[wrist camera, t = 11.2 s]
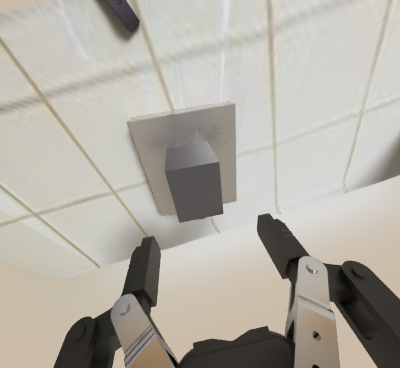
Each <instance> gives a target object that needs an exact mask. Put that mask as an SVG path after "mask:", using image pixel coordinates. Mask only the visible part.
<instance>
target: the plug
mask: <svg viewBox="0 0 400 368" xmlns="http://www.w3.org/2000/svg"><path fill="white" fill-rule="evenodd" d="M165 175H166V178H167V182H168V185H169V188H170V192H171V195H172V199H173V202H174V205H175V209H176V212H177V216H178V219H179V222H185V221H190V220H195V219H203V218H205V217H210V216H215V215H220V214H223V203H222V190H221V176H220V163H219V160H218V158H217V157H216V155H215V153H214V152H213V150H212V148H211V147H210V145H209V143H208V142H203V143H197V144H192V145H186V146H181V147H175V148H170V149H167V154H166V163H165Z"/></svg>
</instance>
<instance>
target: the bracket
mask: <svg viewBox="0 0 400 368" xmlns="http://www.w3.org/2000/svg"><path fill="white" fill-rule="evenodd" d="M107 1H108V3H109V4H110V5H111V7H112V8H113V10H114V11H115V12H116V13H117V15H118V16H119V17H120V19H121V20H122V21H123V23H124V24H125V25H126V27H127V28H128V29H129V30H130V32H131V31H132V30H133V29H134V27H135V26H136V25H137V24H138V23H139V19H138V18H137V16H136V15H135V13H134V12H133V10H132V9H131V7H130V6H129V4H128V3H127V1H126V0H107Z"/></svg>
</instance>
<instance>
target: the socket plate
mask: <svg viewBox="0 0 400 368" xmlns="http://www.w3.org/2000/svg"><path fill="white" fill-rule="evenodd" d="M127 125H128V127H129V130H130V133H131V135H132V138H133V141H134V143H135V146H136V149H137V151H138V154H139V157H140V160H141V162H142V165H143V168H144V170H145V173H146V176H147V178H148V181H149V184H150V186H151V189H152V192H153V195H154V197H155V200H156V203H157V205H158V208H159V211H160V213H161V216H165V215H170V214H175V213H177V212H176V209H175V205H174V202H173V199H172V195H171V192H170V188H169V185H168V182H167V178H166V175H165V163H166V154H167V149H170V148H175V147H181V146H186V145H192V144H197V143H203V142H208V143H209V145H210V147H211V148H212V150H213V152H214V153H215V155H216V157H217V158H218V160H219V163H220V176H221V190H222V203H223V204H224V203H229V202H234V201H236V131H235V104H234V103H231V102H228V101H227V102H221V103H215V104H209V105H203V106H197V107H192V108H186V109H180V110H174V111H168V112H162V113H156V114H150V115H145V116H139V117H133V118H131V119H130V120H129V121H128V122H127Z"/></svg>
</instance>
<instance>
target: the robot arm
mask: <svg viewBox="0 0 400 368" xmlns="http://www.w3.org/2000/svg"><path fill="white" fill-rule="evenodd" d="M257 232H258V235H259V237H260V239H261V241H262V243H263V244H264V246H265V248H266V250H267V252H268V253H269V255H270V257H271V259H272V261H273V262H274V264H275V266H276V268H277V270H278V272H279V273H280V275H281V277H282V279H286V278H289V280H290V282H291V287H290V297H289V307H288V316H287V321H286V327H285V336H283V335H281V334H279V333H276V332H273V331H269V329H268V326H265V327H261V328H256V329H252V330H249V331H247V332H246V333H244V334H243V335H241V336H240V337H238V338H237V339H235V340H233V341H225V340H217V339H208V340H204V341H199V342H195V343H193V347H194V348H193V349H191V350H190V351H189V352H188V353H187V354H186V355H185V356H184V357H183V358H182V360H181V361H180V362H179V363H178V361H177V359H176V357H175V356H174V354H173V352H172V351H171V349H170V348H169V347H168V345H167V343H166V342H165V340H164V339H163V337H162V335H161V333H160V331H159V330H158V328H157V326H156V325H155V323H154V321H153V320H152V318H151V316H150V312H151V307H154V306H156V304H157V293H158V281H159V269H160V257H161V253H160V248H159V246H158V244H157V241H156V239H155V237H154V236H151V237H146V238H143V240H142V244H141V246H139V247H136V249H135V250H134V252H133V254H132V257H131V261H130V265H129V269H128V272H127V276H126V280H125V284H124V288H123V292H122V295H121V297H120V298H119V299H118V300H117V301H116V303H115V304H114V306H113V307H112V308H111V309H110V310H108V311H106V312H105V313H103V314H101V315H99V316H98V317H96V318H94V319H93V318H91V317H84V318H82V319H80V320H79V321H77V322H76V323H75V324H74V325H73V326H72V327H71V329H70V330H69V331H68V333H67V335H66V337H65V340H64V342H63V345H62V347H61V350H60V352H59V355H58V357H57V360H56V363H55V365H54V368H112V365H113V360H114V355H115V351H116V350H117V349H119V348H120V347H122V348H123V351H124V354H125V359H124V363H125V367H126V368H340V362H339V351H338V342H337V330H336V320H335V315H334V312H333V311H331V309H330V301H331V302H334V303H335V304H336V306H337V308H338V309H339V310H340V312H341V314H342V315H343V317H344V318H345V320H346V321H347V323H348V324H349V326H350V327H351V329H352V330H353V332H354V333H355V334H356V336H357V338H358V339H359V340H360V342H361V343H362V345H363V346H364V348H365V349H366V351H367V352H368V354H369V355H370V357H371V358H372V360H373V361H374V363H375V364H376V366H377V367H378V368H400V299H399V298H398V297H397V296H396V295H395V294H394V293H393V292H392V291H391V290H390V289H389V288H388V287H387V286H386V285H385V284H384V283H383V282H382V281H381V280H380V279H379V278H378V277H377V276H376V275H375V274H374V273H373V272H372V271H371V270H370V269H369V268H368V267H366V266H364V265H363V264H360V263H358V262H355V261H346V262H344V263H343V265H342V266H341V265H332V264H325V263H322V262H320V261H319V260H318V259H315V258H313V257H311V256H309V254H308V253H307V252H306V251H305V249H304V248H303V247H302V245H301V244H300V243H299V242H298V240H297V239H296V238H295V236H293V234H292V233H291V231H289V229H288V228H287V226H286V225H285V224H284V223H283V222H281V221H280V220H278V219H275V220H274V219H273V218H272V216H271V215H270V214H269V213H268V214H263V215H259V216H258V223H257Z"/></svg>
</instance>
